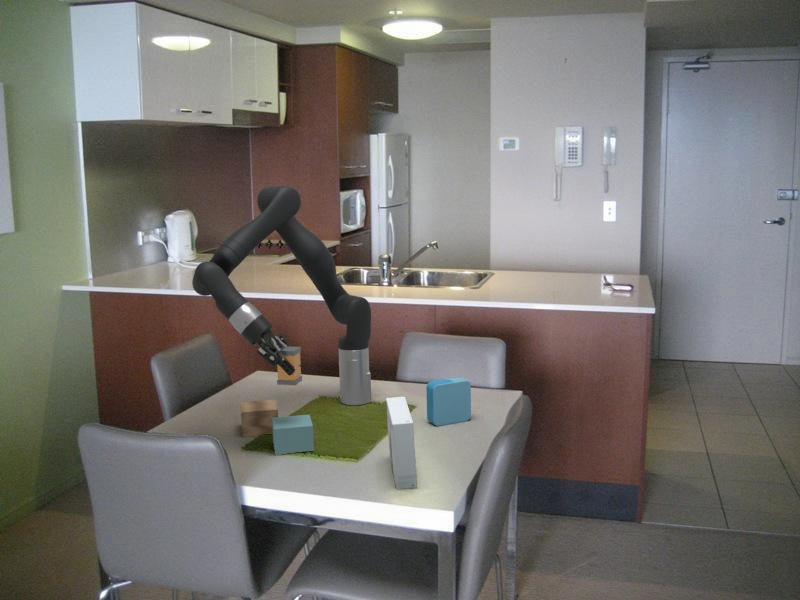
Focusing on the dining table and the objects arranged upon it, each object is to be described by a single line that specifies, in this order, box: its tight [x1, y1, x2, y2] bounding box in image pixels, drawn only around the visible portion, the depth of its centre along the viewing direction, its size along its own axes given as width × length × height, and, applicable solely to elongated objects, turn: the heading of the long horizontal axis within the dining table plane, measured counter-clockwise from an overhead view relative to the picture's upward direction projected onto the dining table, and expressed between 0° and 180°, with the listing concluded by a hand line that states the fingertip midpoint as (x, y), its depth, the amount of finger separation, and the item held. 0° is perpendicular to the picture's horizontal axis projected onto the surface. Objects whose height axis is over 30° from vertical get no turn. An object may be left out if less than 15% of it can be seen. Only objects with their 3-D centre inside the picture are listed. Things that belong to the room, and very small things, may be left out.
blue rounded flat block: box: [425, 376, 472, 427], centre depth 242 cm, size 12×4×12 cm, turn 115°
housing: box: [276, 346, 303, 386], centre depth 221 cm, size 5×5×9 cm
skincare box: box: [385, 396, 418, 490], centre depth 204 cm, size 21×6×16 cm, turn 5°
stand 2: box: [272, 414, 315, 456], centre depth 224 cm, size 10×10×7 cm
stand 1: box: [240, 399, 279, 438], centre depth 239 cm, size 10×10×7 cm
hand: (296, 370), depth 221 cm, fingers closed on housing, 4 cm apart
